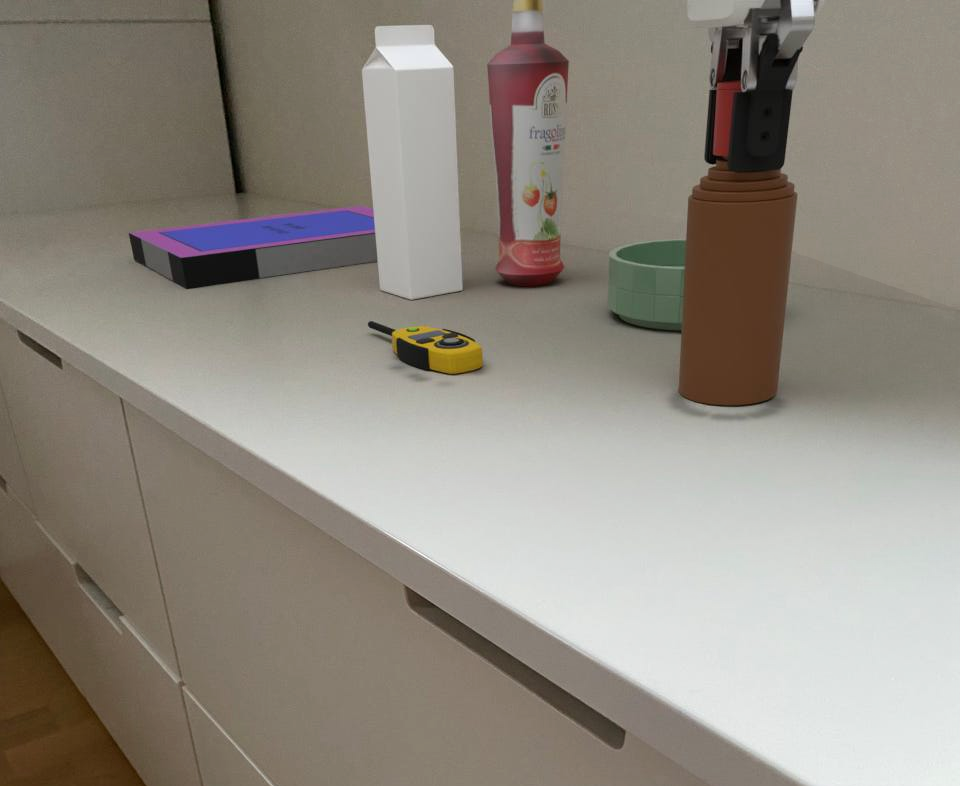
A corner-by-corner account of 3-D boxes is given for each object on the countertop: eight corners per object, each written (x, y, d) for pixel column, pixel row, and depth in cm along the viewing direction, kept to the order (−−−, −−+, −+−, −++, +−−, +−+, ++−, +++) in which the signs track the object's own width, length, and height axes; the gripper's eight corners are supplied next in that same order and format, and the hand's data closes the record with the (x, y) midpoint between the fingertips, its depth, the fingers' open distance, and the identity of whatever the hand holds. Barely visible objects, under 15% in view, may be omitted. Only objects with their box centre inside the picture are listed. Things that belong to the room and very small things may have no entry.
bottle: (750, 371, 69) (776, 85, 60) (794, 398, 63) (830, 88, 54) (664, 382, 68) (676, 93, 59) (701, 410, 62) (721, 96, 53)
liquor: (527, 293, 93) (523, -69, 79) (478, 282, 98) (466, -60, 84) (582, 280, 97) (588, -66, 83) (532, 271, 102) (529, -58, 88)
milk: (379, 291, 97) (355, 27, 85) (431, 281, 99) (414, 26, 88) (411, 300, 92) (391, 24, 81) (464, 290, 95) (452, 22, 84)
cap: (704, 152, 60) (708, 82, 58) (765, 147, 60) (771, 77, 58) (724, 158, 56) (729, 84, 54) (788, 153, 56) (795, 79, 55)
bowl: (724, 292, 91) (729, 234, 88) (793, 325, 80) (801, 260, 77) (587, 304, 89) (589, 245, 86) (638, 339, 77) (641, 273, 75)
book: (128, 232, 115) (360, 205, 127) (134, 259, 116) (363, 230, 129) (180, 257, 99) (439, 224, 112) (186, 288, 101) (440, 252, 114)
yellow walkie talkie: (439, 352, 69) (341, 314, 80) (441, 379, 70) (344, 338, 81) (495, 340, 72) (393, 305, 82) (496, 366, 73) (394, 328, 83)
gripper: (663, -202, 56) (645, 156, 65) (768, -288, 42) (725, 186, 51) (791, -205, 56) (755, 151, 66) (937, -290, 42) (864, 179, 52)
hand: (742, 163), depth 58 cm, fingers closed on cap, 3 cm apart
